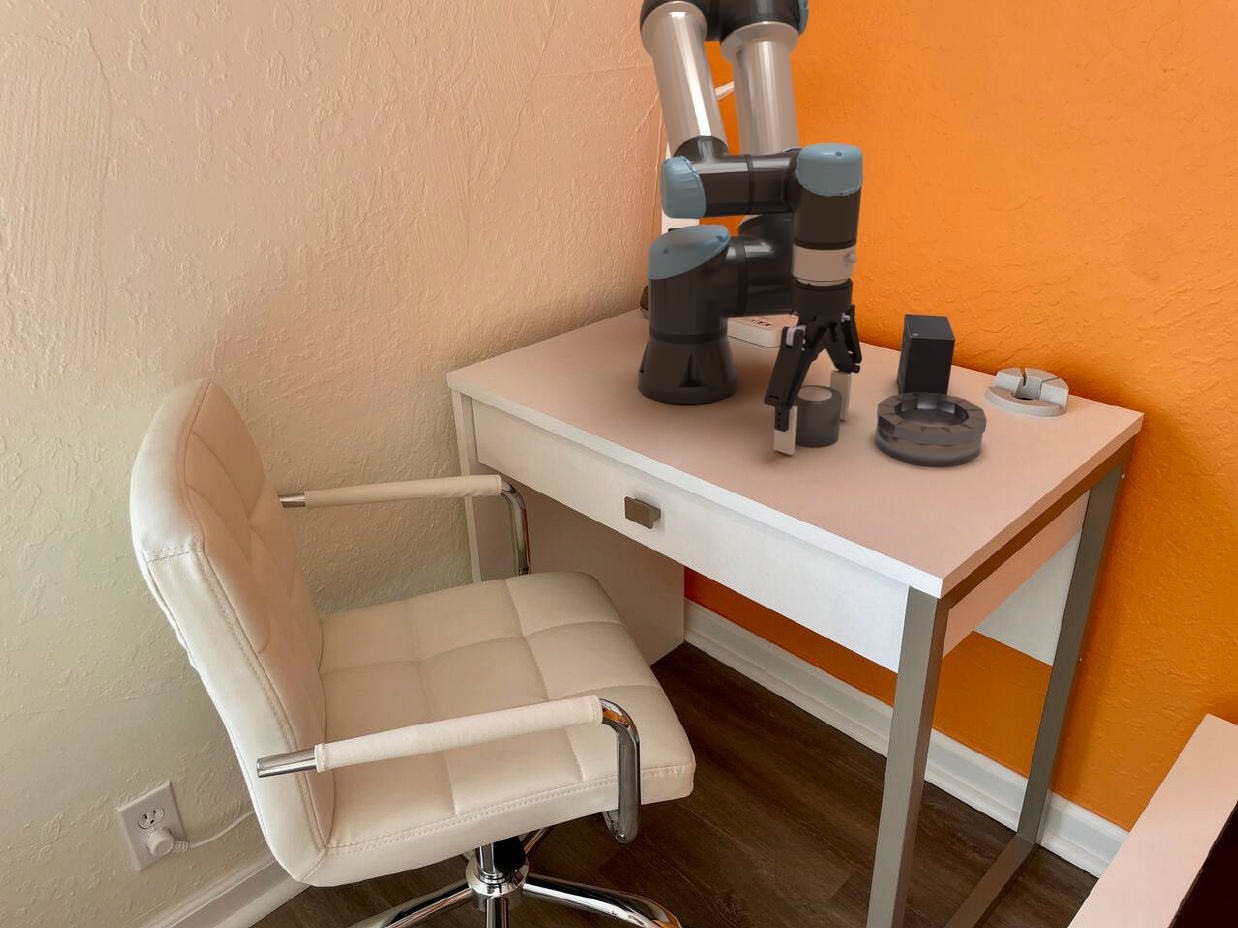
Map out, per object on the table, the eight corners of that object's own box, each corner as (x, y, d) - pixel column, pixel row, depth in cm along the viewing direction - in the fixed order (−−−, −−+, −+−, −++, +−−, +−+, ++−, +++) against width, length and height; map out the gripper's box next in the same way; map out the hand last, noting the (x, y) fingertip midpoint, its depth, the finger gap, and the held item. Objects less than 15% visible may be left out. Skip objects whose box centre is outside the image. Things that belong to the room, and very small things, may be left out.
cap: (774, 438, 123) (777, 395, 120) (802, 421, 128) (805, 379, 125) (821, 452, 119) (824, 408, 116) (848, 434, 123) (851, 391, 121)
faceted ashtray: (857, 447, 120) (860, 416, 118) (903, 415, 128) (907, 385, 126) (953, 476, 112) (958, 443, 110) (996, 439, 120) (1001, 408, 118)
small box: (948, 409, 129) (958, 338, 125) (900, 407, 131) (908, 337, 126) (940, 381, 139) (949, 314, 134) (895, 379, 140) (902, 313, 135)
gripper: (793, 308, 103) (784, 475, 113) (897, 260, 119) (882, 410, 129) (738, 296, 107) (734, 458, 117) (846, 252, 124) (834, 397, 133)
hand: (811, 433), depth 123 cm, fingers open, 13 cm apart
